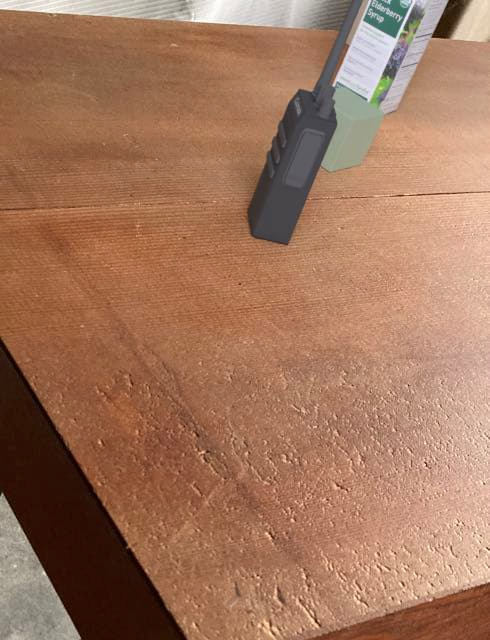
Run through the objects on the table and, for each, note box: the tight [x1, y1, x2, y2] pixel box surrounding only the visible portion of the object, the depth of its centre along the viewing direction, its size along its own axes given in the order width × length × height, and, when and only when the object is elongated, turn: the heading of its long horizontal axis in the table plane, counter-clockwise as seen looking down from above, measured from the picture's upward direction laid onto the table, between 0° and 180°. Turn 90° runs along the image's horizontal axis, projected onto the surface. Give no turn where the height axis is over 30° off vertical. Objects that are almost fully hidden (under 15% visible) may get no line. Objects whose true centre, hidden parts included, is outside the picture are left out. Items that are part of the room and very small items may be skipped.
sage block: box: [320, 87, 386, 173], centre depth 90 cm, size 5×5×5 cm
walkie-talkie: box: [247, 0, 363, 246], centre depth 72 cm, size 5×3×20 cm
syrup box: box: [331, 0, 449, 115], centre depth 97 cm, size 6×6×14 cm
